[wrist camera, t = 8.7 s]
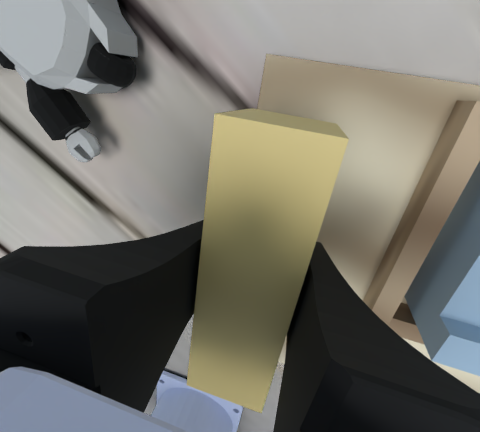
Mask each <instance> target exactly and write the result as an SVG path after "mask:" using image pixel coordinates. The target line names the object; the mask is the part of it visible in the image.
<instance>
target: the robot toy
mask: <svg viewBox="0 0 480 432" xmlns="http://www.w3.org/2000/svg"><path fill="white" fill-rule="evenodd" d="M129 56H132V57H138V51H137V36H136V35H135V34H134V32H133V31H132V29H131V28H130V26H129V25H128V23H127V22H126V20H125V19H124V18H123V16H122V15H121V12H120V9H119V6H118V2H117V0H0V64H1V65H2V66H3V68H8V69H12V70H16V71H17V72H18V73H19V75H20V76H21V77H22V79H23V80H24V81H25V83H26V87H27V97H28V103H29V109H30V112H31V113H32V114H33V116H34V117H35V118H36V120H37V121H38V122H39V123H40V125H41V126H42V127H43V129H44V130H45V131H46V132H47V134H48V135H49V136H50V138H51V139H52V140H62V139H65V140H66V143H67V147H68V151H69V153H70V154H71V155H72V156H73V157H74V158H76V159H77V160H78V161H80V162H88V161H90V160H92V159H93V157H95V156H97V155H99V154H100V151H101V147H100V145H99V142H98V140H97V138H96V136H94V135H93V134H91V133H90V132H88V131H86V130H85V128H86V127H87V126H88V125H89V124H90V123H91V121H90V120H89V119H88V117H87V116H86V114H85V113H84V112H83V110H82V109H81V107H80V106H79V105H78V103H77V102H76V100H75V99H74V97H73V96H72V95H71V93H69V92H68V91H66V90H64V89H71V90H74V91H77V92H81V93H84V94H97V93H116V92H117V91H119V90H120V89H121V88H123V87H126V86H129V85H130V84H131V83H132V82H133V81H134V79H135V75H136V65H135V63H134V61H133V60H132V59H131V58H130V57H129Z"/></svg>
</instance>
